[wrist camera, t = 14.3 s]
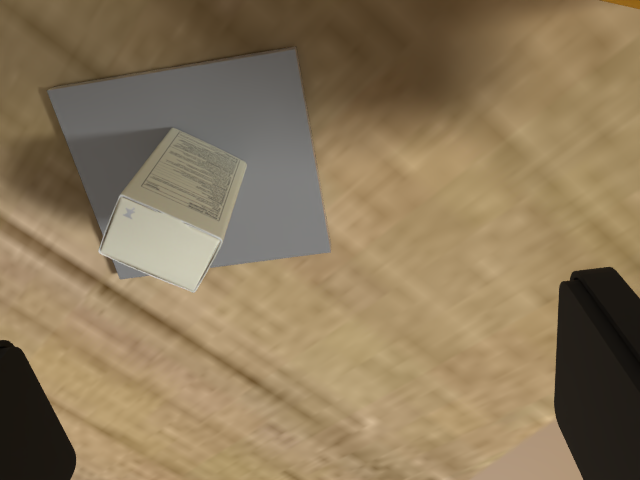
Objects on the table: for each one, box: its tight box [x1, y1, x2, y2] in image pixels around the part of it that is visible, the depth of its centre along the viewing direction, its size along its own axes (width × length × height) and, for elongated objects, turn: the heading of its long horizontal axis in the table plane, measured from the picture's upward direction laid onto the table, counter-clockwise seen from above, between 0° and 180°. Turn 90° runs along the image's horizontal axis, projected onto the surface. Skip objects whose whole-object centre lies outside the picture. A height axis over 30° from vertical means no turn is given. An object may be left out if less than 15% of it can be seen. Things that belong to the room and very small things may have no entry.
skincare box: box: [99, 128, 247, 292], centre depth 37 cm, size 6×4×12 cm
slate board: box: [47, 46, 331, 279], centre depth 43 cm, size 18×16×1 cm
